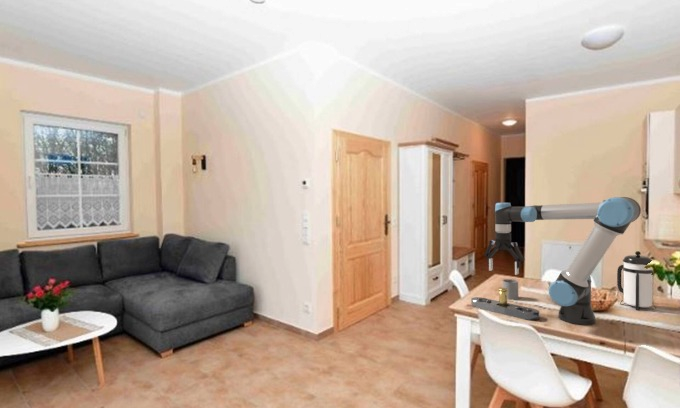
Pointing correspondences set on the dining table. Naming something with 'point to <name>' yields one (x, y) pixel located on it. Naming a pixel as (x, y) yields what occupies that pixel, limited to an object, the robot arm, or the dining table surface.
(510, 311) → the long dark plank
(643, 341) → the dining table surface
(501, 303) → the pin
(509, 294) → the cup
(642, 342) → the dining table surface
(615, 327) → the dining table surface
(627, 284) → the coffee press
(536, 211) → the robot arm
